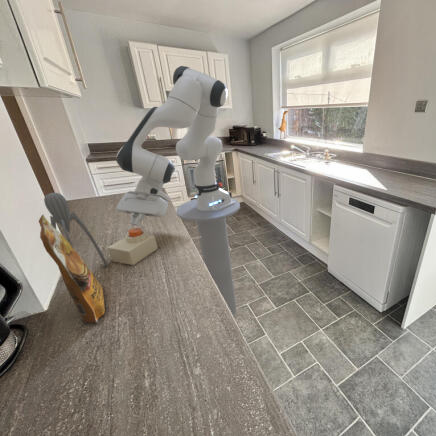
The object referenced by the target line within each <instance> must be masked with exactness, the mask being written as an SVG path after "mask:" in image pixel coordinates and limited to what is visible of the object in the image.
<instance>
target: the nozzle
mask: <svg viewBox="0 0 436 436" xmlns="http://www.w3.org/2000/svg"><path fill="white" fill-rule="evenodd" d="M142 230H143V229H142V228H141V227H133V228H131V229H128V230H127V233H129V236H130V237H137V236H140V235H142V234H143V233H142Z"/></svg>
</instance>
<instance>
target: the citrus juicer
mask: <svg viewBox="0 0 436 436" xmlns="http://www.w3.org/2000/svg"><path fill="white" fill-rule="evenodd" d="M43 199H44V200H43V202H44V206H45V208H46V209H47V211H48V212H49V214H50V215H49V218H50V224H51V225H52V226H53V227H54V228H55V229H56V230H57V224H59V225H60V226H61V227H62V229H63V232H64V235H65V239H66V240H67V241H68V242H69V243H70V245H71V246H72V248H73V249H74V250H75V248H74V246H73V243H72V241H71V238H70V236H69V233H70V231H71V229H70V228H71V222H72V221H73V220H74V221H75V222H76V224H78V225H79V226H80V227H81V229H82V230H83V231H84V233H85V234H86V236H87V237H88V238H89V240H90V241H91V243H92V245H93V246H94V248H95V249H96V251H97V253H98V255H99V257H100V258H101V260H102V263H103V265H104V267H105V268H106V267H108V263H107V260H106V258H105V256H104V254H103V252H102V250H101V248H100V246H99V245H98V243H97V242H96V240H95V238H94V237H93V235H92V233H91V232H90V231H89V228H88V227H87V226H86V225H85V224H84V222H83V221H82V220H81V218H80V217H79V216H78V215H77V213H76V212H75V211H73V212H72V213H71V212H70V207H69V203H68V201H67V199H66V198H65V196H64V195H63V194H61V193H59V192H50V193H47V194H46V195H44V198H43Z"/></svg>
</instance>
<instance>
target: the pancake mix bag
mask: <svg viewBox="0 0 436 436" xmlns="http://www.w3.org/2000/svg"><path fill="white" fill-rule="evenodd" d="M38 223H39V226H40V232H39V233H40V234H39V238H40V240H41V242H42V245H43V248H44V249H45V251H46V253H47V254H48V255H49V257H51V259H52V260H53V261H54V263H55V264H56V265H57V267H58V270H59V272H60V275H61V277H62V281H63V283H64V285H65V287H66V289H67V291H68V293H69V295H70V297H71V299H72V301H73V302H74V304H75V306H76V309H77V311H78V312H79V314H80V315H81V317H82V319H83V321H84V322H86V323H89V324H98V322H99V319H100V318H101V317H103V316H104V315H105V313H106V308H105V298H104V290H103V288H102V285H101V284H100V282H99V281H98V279H97V278H96V276H95V275H94V273H93V271H92V270H91V269H90V268H89V266H88V265H87V264H86V262H84V260H83V258H82V257H81V256H80V255H79V253H78V252H77V250H76V249H75V248H74V247H73V248H74V249H73V248H72V246H73V245H72V246H71V245H70V243H69V242H68V240H67V238H66V237H65V236H64V235H63V234H62V233H60V231H58V229H57V228H56V229H55V228H54V227H53V226H52V225H51V222H49V221H48V219H47V218H46V217H45V215H44V214H41V216H40V217H39V219H38Z"/></svg>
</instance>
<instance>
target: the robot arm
mask: <svg viewBox="0 0 436 436" xmlns="http://www.w3.org/2000/svg"><path fill="white" fill-rule="evenodd" d="M172 84H173V86H172V88H171V90H170V91H169V93H168V96H167V97H166V100H165V101H164V103H162V104H161V105H160V106H153V107H152V108H150V109H149V110H148V111H147V113H146V114H145V115H144V116H143V118H142V119H141V121H140V122H139V124H138V125H137V126H136V128H135V129H134V131H133V132H132V134H131V135H130V137H129V138H128V139H127V141H126V142H125V143H124V145H123V146H122V147H120V149H119V150H118V152H117V154H116V158H115V161H116V163H117V165H118V166H119V167H120V169H121V170H122V171H126V172H128V173H132V174H136V175H139V176H141V178H140V179H139V180H138V182H137V184H136V187H135V189H134V191H132V190H129V191H127V192H125V194H123V195H122V197H121V198H120V200H119V201H118V202H117V205H116V211H118V212H120V213H124V214H130V221H129V224H130V225H132V226H137V227H139V226H140V225H141V222H143V221H144V220H145V219H146V217H154V218H163V217H164V216H166V213H167V210H168V208H169V202H170V200H171V197H170V196H169V195H168V194H166V193H165V192H163V189H164V184H168V183H170V182H171V179H172V177H173V174H174V172H175V170H176V167H175V165H174V163H173V161H172V160H170V159H168V158H167V156H164V155H161V154H157V153H154V152H151V151H149V150H147V149H145V148H143V147H142V145H143V144H144V142H145V140H146V139H147V138H148V136H149V135H150V134H151V133H152V131H153V130H154V129H156V128H169V129H178V130H179V129H186V128H188V130H187V132H186V133H185V134H184V136H183V137H182V138H180V139H179V140H178V141H177V142H176V145H175V152H176V155H177V156H178V157H179V158H180V159H181V160H183V161H197V160H199V161H198V163H197V165H196V166H195V167H194V168H193V171H192V173H193V178H194V191H195V196H194V199H197V206H196V209H197V210H200V211H219V210H221V209H224V208H226V207H228V206H231V205H233V204H235V201H234V200H233V199H234V198H233V199H231V198H232V197H233V196H232V195H233V194H232V192H230V191H227V190H225V189H223V188H222V187H223V183H222V182H217V179H216V164H217V161H218V158H219V156H220V155H221V154H222V152H223V150H224V149H223V147H224V146H223V143H222V140H221V139H220V138H219V137H216V136H212V134H213V133H214V132H215V130H216V126H217V119H218V114H219V108H221V107H223V106H224V105H225V103H226V101H227V99H228V88H227V86H226V84H225V83H224V82H222V81H221V80H219V79H216V78H214V77H213V76H211V75H209V74H207V73H205V72H201V71H199V70H196V69H193V68H191V67H189V66H187V65H186V66H185V65H180V66H178V67H176V68H175V69H174V71H173V75H172Z"/></svg>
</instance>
